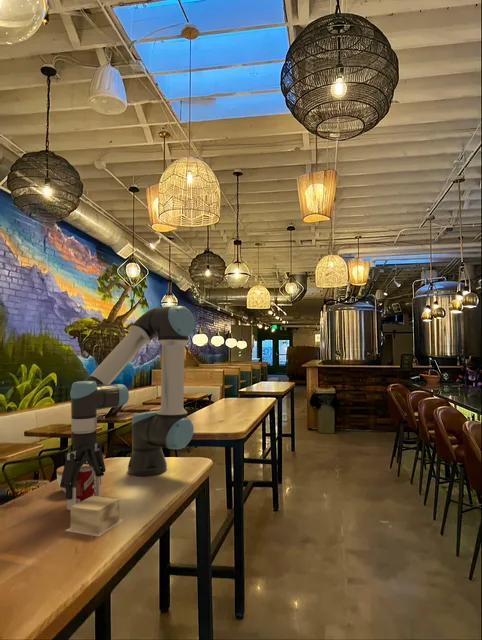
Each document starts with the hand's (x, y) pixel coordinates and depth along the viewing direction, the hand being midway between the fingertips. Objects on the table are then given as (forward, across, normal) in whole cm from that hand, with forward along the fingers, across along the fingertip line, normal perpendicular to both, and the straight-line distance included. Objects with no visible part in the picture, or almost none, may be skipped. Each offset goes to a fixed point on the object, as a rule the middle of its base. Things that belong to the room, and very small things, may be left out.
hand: (84, 503), depth 137 cm
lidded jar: (+2, -12, -15) cm, 19 cm away
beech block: (0, +12, +14) cm, 18 cm away
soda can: (+2, 0, 0) cm, 2 cm away
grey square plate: (+1, +11, +12) cm, 16 cm away
